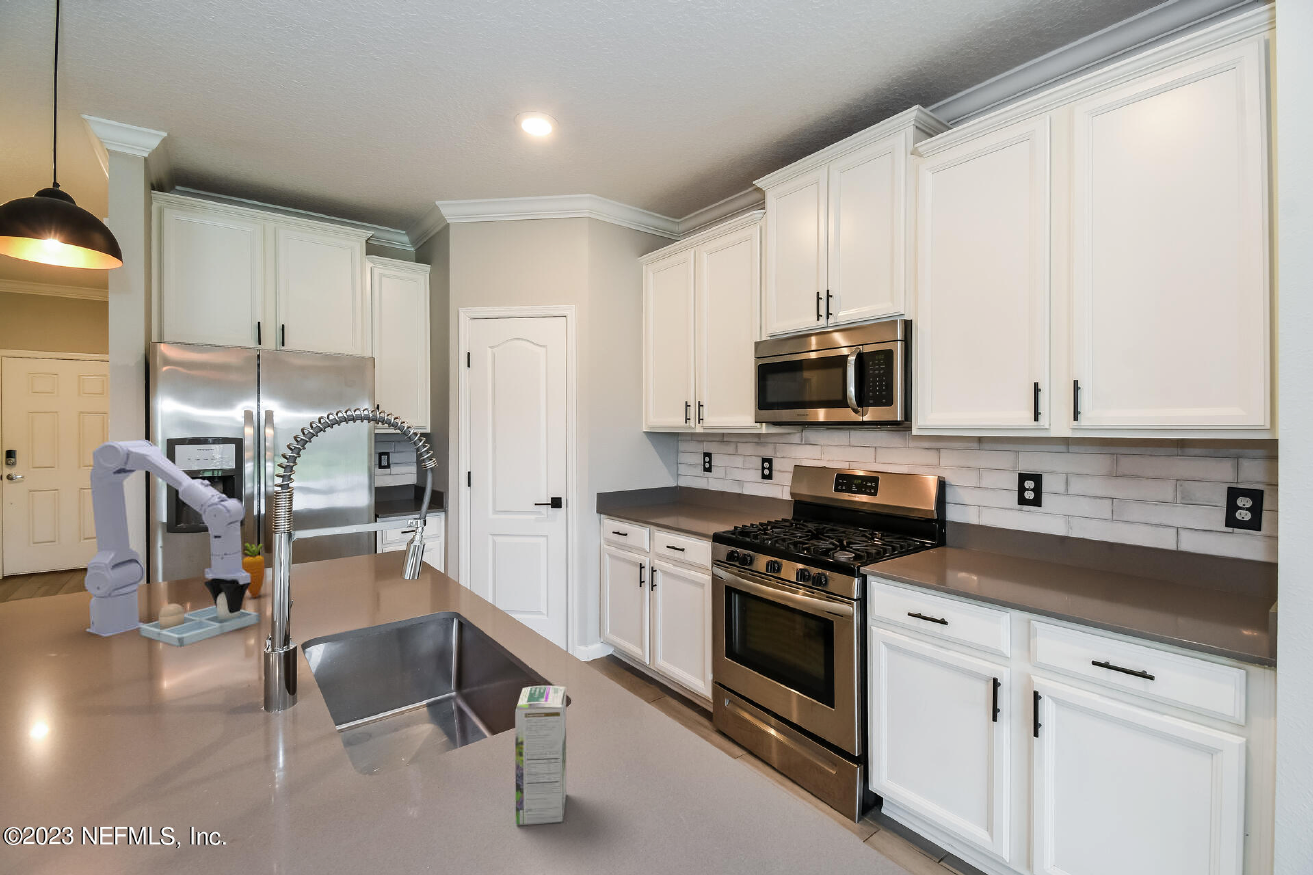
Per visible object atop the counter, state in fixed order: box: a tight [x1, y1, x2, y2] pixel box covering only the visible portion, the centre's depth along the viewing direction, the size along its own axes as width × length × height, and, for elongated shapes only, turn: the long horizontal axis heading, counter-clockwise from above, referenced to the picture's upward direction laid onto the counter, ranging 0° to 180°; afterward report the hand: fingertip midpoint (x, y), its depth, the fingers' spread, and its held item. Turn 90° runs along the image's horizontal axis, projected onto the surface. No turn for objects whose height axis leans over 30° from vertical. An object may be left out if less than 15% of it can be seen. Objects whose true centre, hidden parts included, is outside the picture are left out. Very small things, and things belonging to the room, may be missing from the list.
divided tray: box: [138, 605, 261, 648], centre depth 138 cm, size 16×16×2 cm
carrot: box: [242, 542, 265, 599], centre depth 162 cm, size 5×5×15 cm
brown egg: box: [158, 603, 185, 630], centre depth 136 cm, size 4×4×6 cm
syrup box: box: [514, 685, 567, 826], centre depth 75 cm, size 6×6×14 cm
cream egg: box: [217, 592, 241, 620], centre depth 140 cm, size 4×4×6 cm
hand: (228, 610), depth 140 cm, fingers closed on cream egg, 4 cm apart
